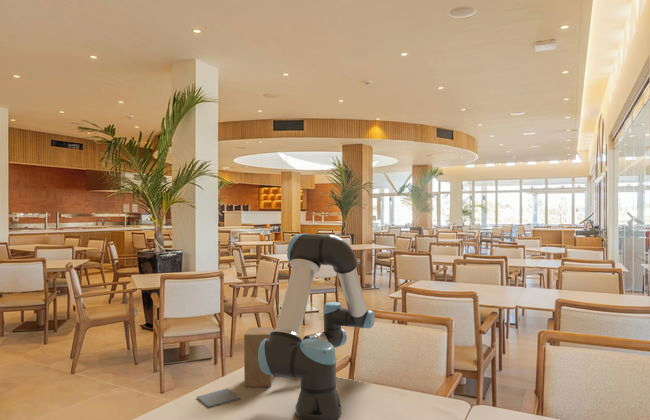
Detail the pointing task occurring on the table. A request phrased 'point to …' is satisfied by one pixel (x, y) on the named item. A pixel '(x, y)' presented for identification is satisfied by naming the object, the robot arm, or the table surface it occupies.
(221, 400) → the mat
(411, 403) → the table surface
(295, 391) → the table surface
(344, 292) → the robot arm
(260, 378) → the wooden block
